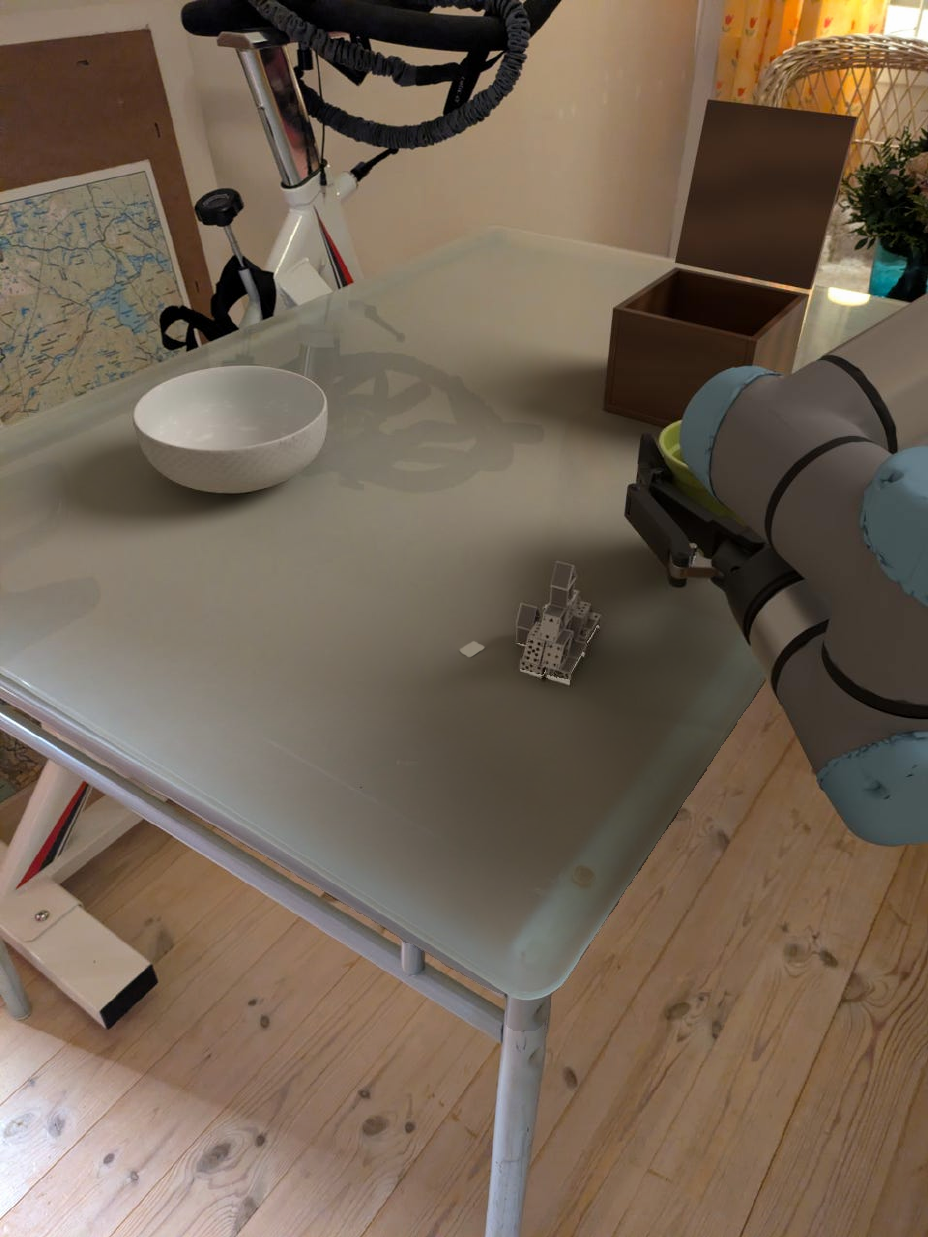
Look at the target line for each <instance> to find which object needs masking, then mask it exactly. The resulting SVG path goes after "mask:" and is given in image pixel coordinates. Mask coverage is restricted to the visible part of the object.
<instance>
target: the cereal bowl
mask: <svg viewBox="0 0 928 1237" xmlns="http://www.w3.org/2000/svg"><path fill="white" fill-rule="evenodd" d="M328 410H329V409H328V401H327V397H326V394H325V393H324V391H323V390H322V388H320V386H319V385H318V384H317V383H316V382H314V381H312V380H311V379H309V378H307V377H305V376H303V375H301V374H299V373H295V372H293V371H289V370H286V369H281V368H275V367H269V366H263V365H262V366H261V365H229V366H217V367H211V368H209V367H208V368H205V369H199V370H195V371H191V372H187V373H183V374H181V375H178V376H175V377H172V378H169V379H168V380H166V381H163V382H161V383H159V384H157V385H156V386H154V387H153V388H151V389H150V390H148V391H147V392H146V393H145V394H144V395H142V397H141V398H140V399H139V400H138V401H137V402H136V404H135V406H134V408H133V412H132V425H133V427H134V433H135V434H136V438H137V439H136V440H137V441H138V443H139V447H140V450H141V451H142V453H143V456H145V457H146V459H147V461H148V462H149V463H150V464H151V466H152V467H153V468H155V469H156V471H157V472H159V473H161V474H162V476H163V477H166V478H167V479H168V480H171V481H172V482H174V483H176V484H179V485H180V486H184V487H186V488H189V489H193V490H195V491H201V492H204V493H205V492H207V493H214V494H215V493H216V494H245V493H251V492H255V491H259V490H260V491H261V490H263V489H267V488H270V487H274V486H276V485H278V484H280V483H283V482H284V483H285V481H288V480H289V479H292V478H293V477H295V476H296V475H298V474H299V473H301V472H302V471H304V470H305V469H306V468H307V467H308V466H309V465H310V464H311V462H313V461H314V460H315V458H316V457H317V456H318V454H319V452H320V451H322V450H321V449H322V447H323V445H324V442H325V439H326V434H327V431H328V417H329V416H328V415H329V414H328Z"/></svg>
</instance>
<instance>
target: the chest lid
mask: <svg viewBox="0 0 928 1237" xmlns="http://www.w3.org/2000/svg"><path fill="white" fill-rule="evenodd" d="M859 118H860V117H859V116H854V115H847V114H846V115H845V114H837V113H829V112H820V111H814V110H813V111H811V110H805V109H804V110H803V109H796V108H787V107H778V106H769V105H762V104H753V103H752V104H751V103H744V102H735V101H727V100H719V99H710V98H709V99H707V100H706V107H705V110H704V114H703V120H702V125H701V129H700V135H699V139H698V146H697V149H696V156H695V160H694V165H693V169H692V175H691V180H690V185H689V190H688V195H687V200H686V205H685V210H684V215H683V220H682V223H681V224H682V225H681V230H680V235H679V240H678V245H677V250H676V254H675V260H674V263H675V264H679V265H683V266H688V267H693V268H699V269H704V270H708V271H714V272H718V273H723V274H729V275H734V276H738V277H743V278H748V279H753V280H759V281H763V282H767V283H773V284H778V285H783V286H786V287H787V286H788V287H791V288H792V287H793V288H799V289H803V290H808V291H811V290H813V286H814V283H815V280H816V276H817V272H818V268H819V264H820V260H821V257H822V254H823V250H824V246H825V243H826V238H827V235H828V231H829V228H830V224H831V220H832V216H833V213H834V209H835V205H836V203H837V198H838V195H839V191H840V188H841V184H842V180H843V176H844V174H845V169H846V166H847V162H848V158H849V154H850V151H851V147H852V144H853V140H854V136H855V132H856V129H857V126H858V121H859Z"/></svg>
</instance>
